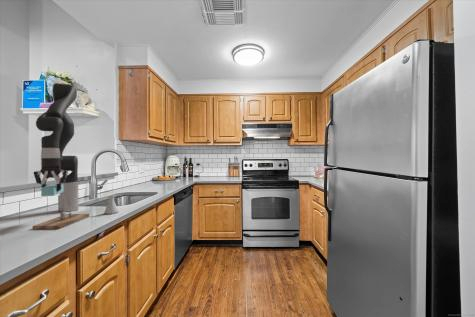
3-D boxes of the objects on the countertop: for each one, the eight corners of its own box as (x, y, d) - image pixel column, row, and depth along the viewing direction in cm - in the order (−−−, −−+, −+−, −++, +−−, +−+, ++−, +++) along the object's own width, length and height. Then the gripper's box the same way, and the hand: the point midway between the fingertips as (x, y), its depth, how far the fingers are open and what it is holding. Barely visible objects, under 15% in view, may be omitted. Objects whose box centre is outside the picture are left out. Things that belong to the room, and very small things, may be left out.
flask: (112, 214, 136) (112, 196, 135) (101, 214, 137) (100, 196, 137) (121, 211, 143) (120, 194, 143) (110, 211, 144) (110, 194, 144)
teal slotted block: (41, 196, 115) (41, 187, 115) (52, 192, 128) (52, 184, 128) (53, 195, 117) (53, 187, 117) (63, 191, 129) (63, 184, 129)
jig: (32, 229, 110) (32, 218, 110) (67, 216, 132) (66, 207, 132) (59, 229, 110) (58, 218, 110) (89, 216, 132) (88, 207, 132)
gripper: (70, 157, 126) (71, 189, 126) (36, 157, 122) (37, 191, 122) (65, 157, 119) (66, 191, 119) (29, 157, 114) (30, 193, 115)
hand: (51, 191), depth 121 cm, fingers closed on teal slotted block, 5 cm apart
